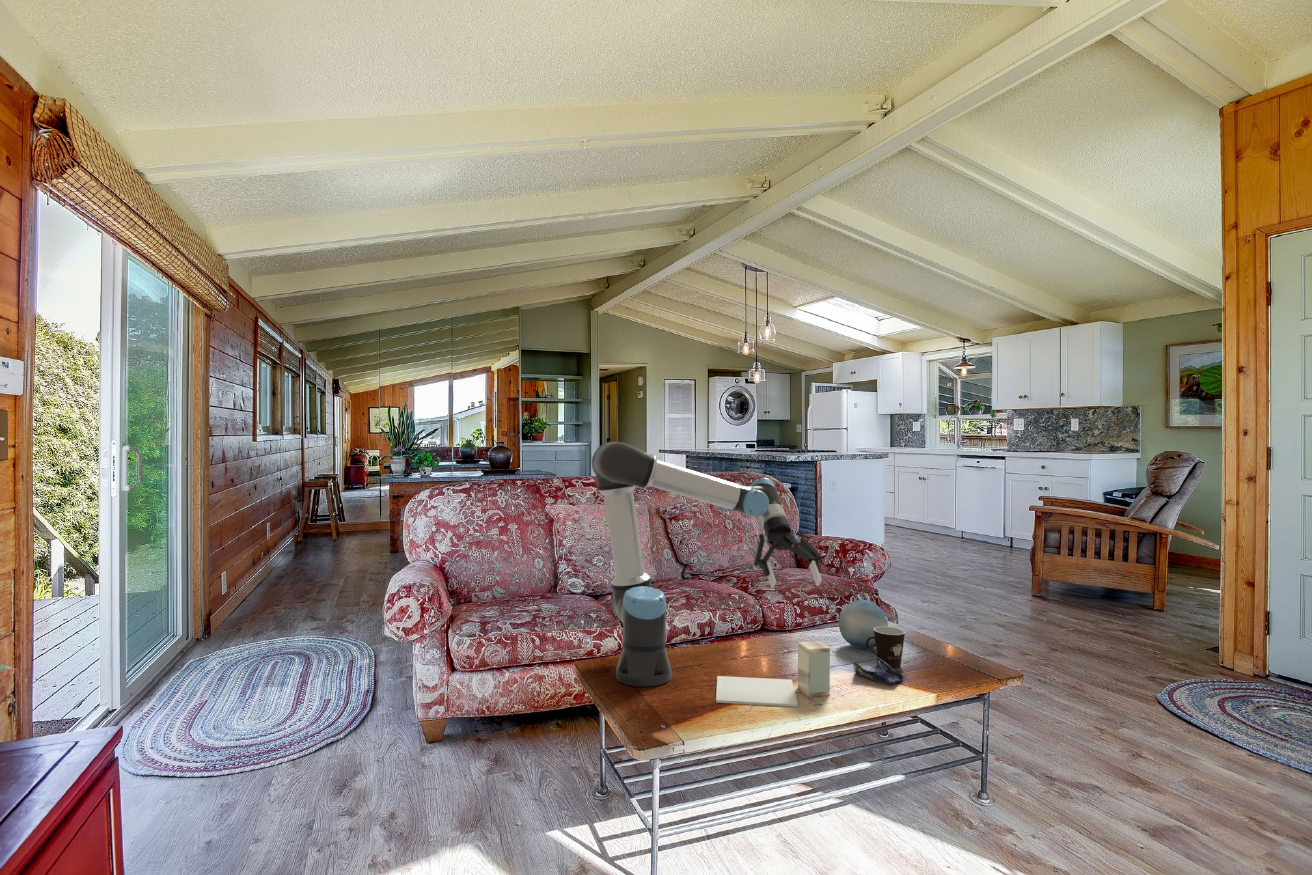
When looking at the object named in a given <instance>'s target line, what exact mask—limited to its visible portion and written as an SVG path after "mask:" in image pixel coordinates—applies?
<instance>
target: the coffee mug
mask: <svg viewBox="0 0 1312 875" xmlns="http://www.w3.org/2000/svg"><path fill="white" fill-rule="evenodd" d="M905 635H906V632H905V630H903V629H901V628H898V627H893V626H888V627H885V626H883V627H876V628H874V637H873V636H872V637H869V638H868V639H867V641H866V647H867V648H868V649H867V650H868V651H869V652H870V653H872V654H873V655H875V656H876V662H877V665H878V667H881V666H880V665H879V663H878V658H880V659H882V660H883V661H884V662H886V663H887V664H888V665H889V666H890V667H892V668H893V670H895V669H900V668H901V666H902V658H903V657H902V656H903V650H904V642H905ZM870 639H875V646H876V647H875V651H873V650H872V649H870V648H869V646H868V642H869V640H870Z"/></svg>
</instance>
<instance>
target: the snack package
mask: <svg viewBox="0 0 1312 875" xmlns="http://www.w3.org/2000/svg"><path fill="white" fill-rule="evenodd" d="M878 663H879V665H880V666H879V665H878V666H879V667H880V668H881V669H882V670H873V671H872V670H867V669H864V668H863V667H862V666H861V665H859V663H857V662H853V671H854V673H855V675H860V676H861V675H862V676H864V677H866V678H868V679H870V680H871V681H872V680H873V681H876V682H886V683H888V684H890V685H891V686H893V684H894V683H895V684H898V683H901V682H902V681H903V678H904V676H903V674H902V673H901V672H895V671H894V669H893V668H892V667H890V666H889V665H888V664H887V663H886V662H884V661H883V660H882V659H880V658H878ZM870 666H871V668H872V667H873V666H872V665H870Z"/></svg>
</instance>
